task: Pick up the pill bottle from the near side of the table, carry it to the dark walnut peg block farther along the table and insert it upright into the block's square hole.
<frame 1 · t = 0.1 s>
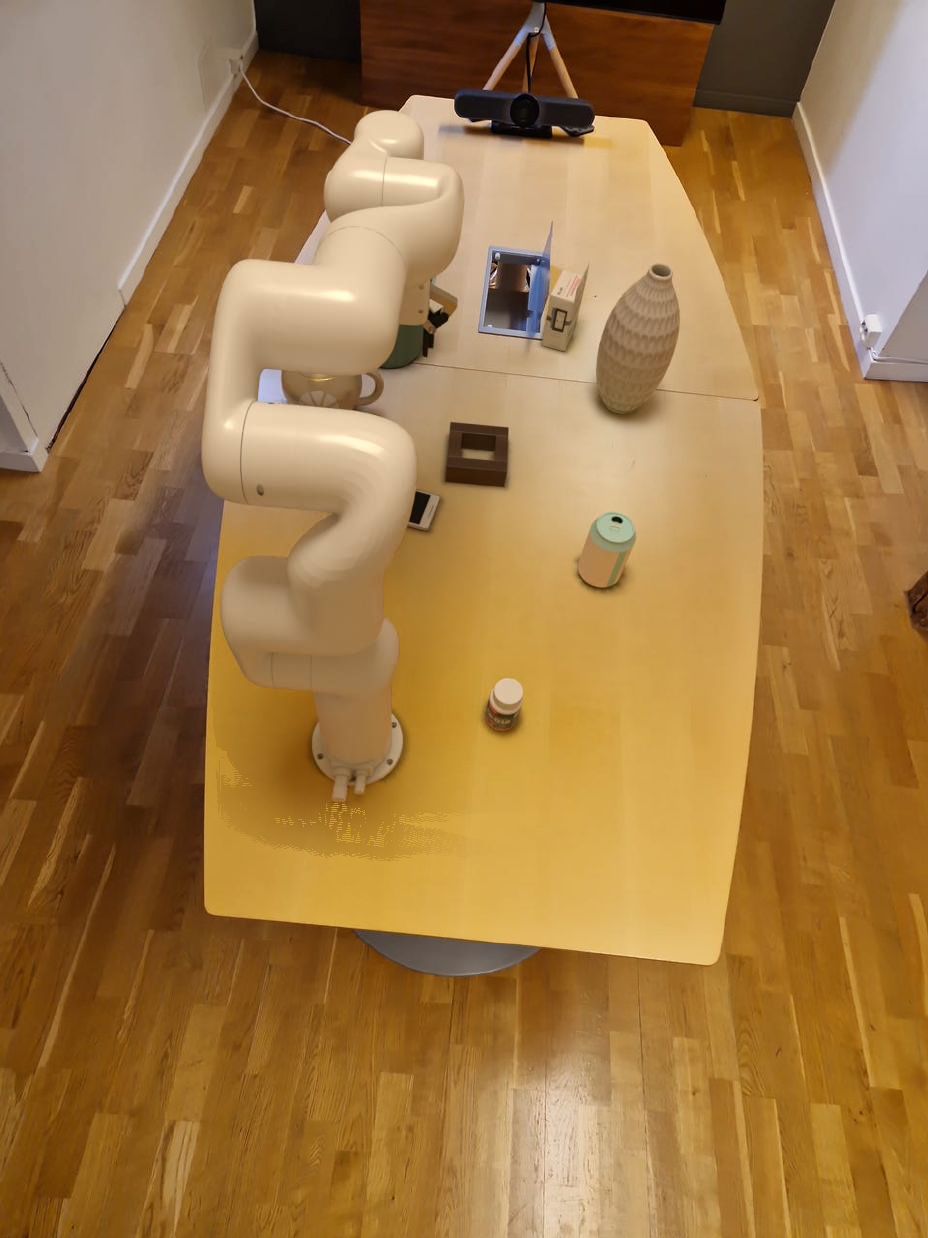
hand: (390, 346, 111), 31 cm above the table, tool pointing down, fingers open, 9 cm apart
can: (598, 572, 132), on the table
smartphone: (389, 504, 136), on the table
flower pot: (389, 347, 156), on the table
teapot: (333, 415, 146), on the table
vase: (618, 403, 153), on the table
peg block: (476, 461, 142), on the table
pill bottle: (501, 716, 118), on the table
ink box: (558, 336, 161), on the table
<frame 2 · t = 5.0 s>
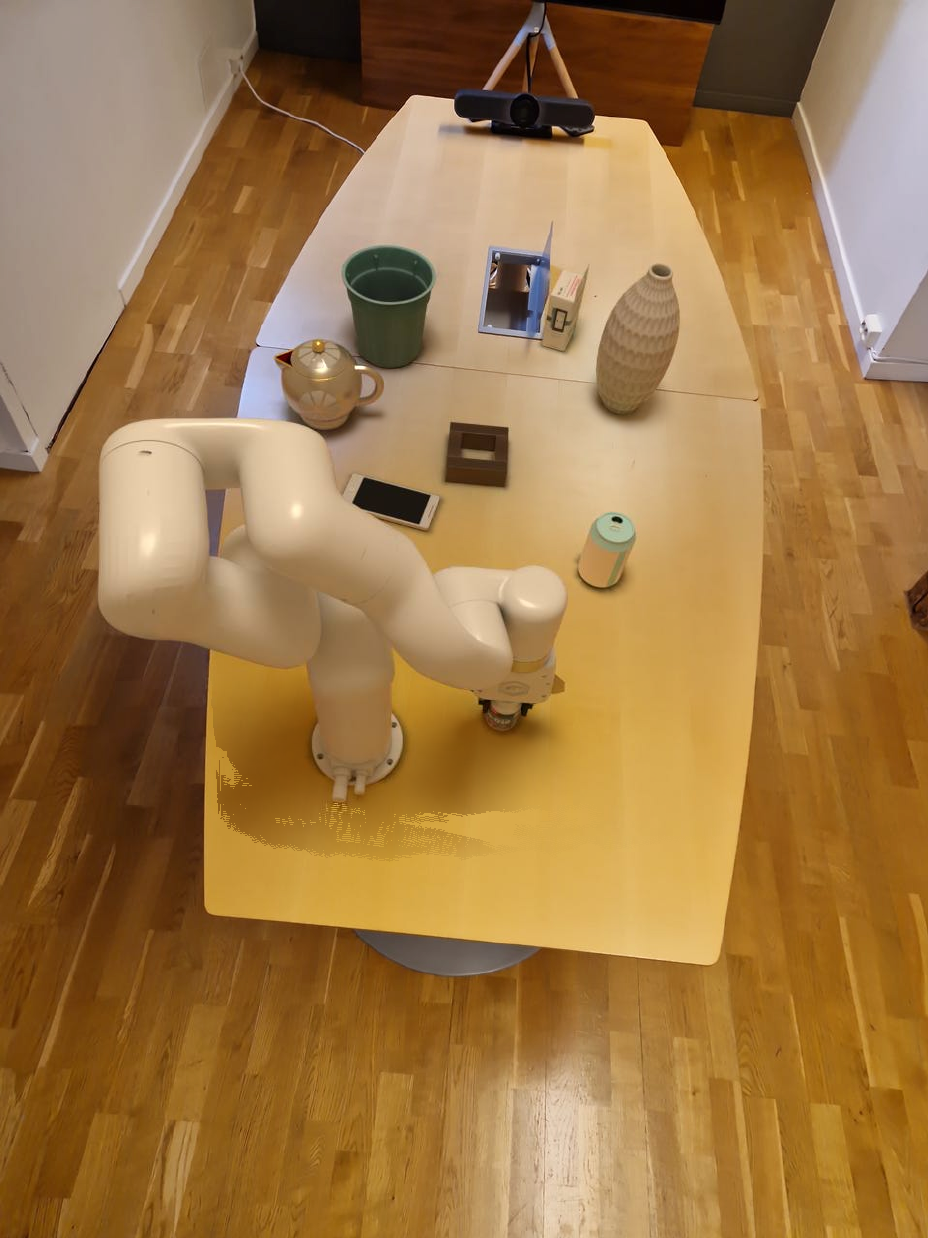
hand: (504, 705, 114), 4 cm above the table, tool pointing down, fingers closed on pill bottle, 4 cm apart
pill bottle: (501, 716, 118), on the table, touching gripper
everything else where it was.
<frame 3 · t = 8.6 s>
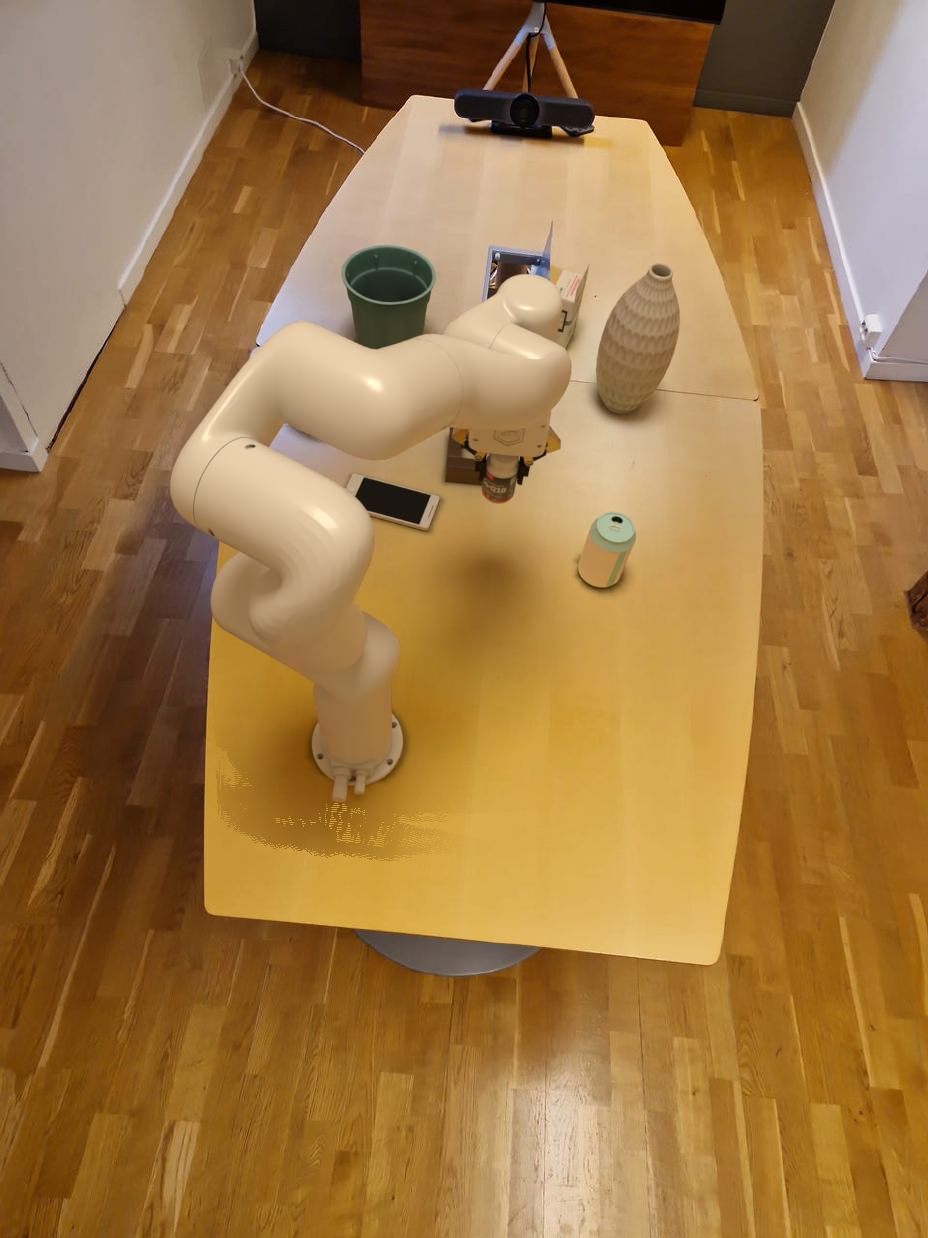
hand: (500, 474, 114), 21 cm above the table, tool pointing down, fingers closed on pill bottle, 4 cm apart
pill bottle: (497, 492, 118), point 17 cm above the table, touching gripper
everything else where it was.
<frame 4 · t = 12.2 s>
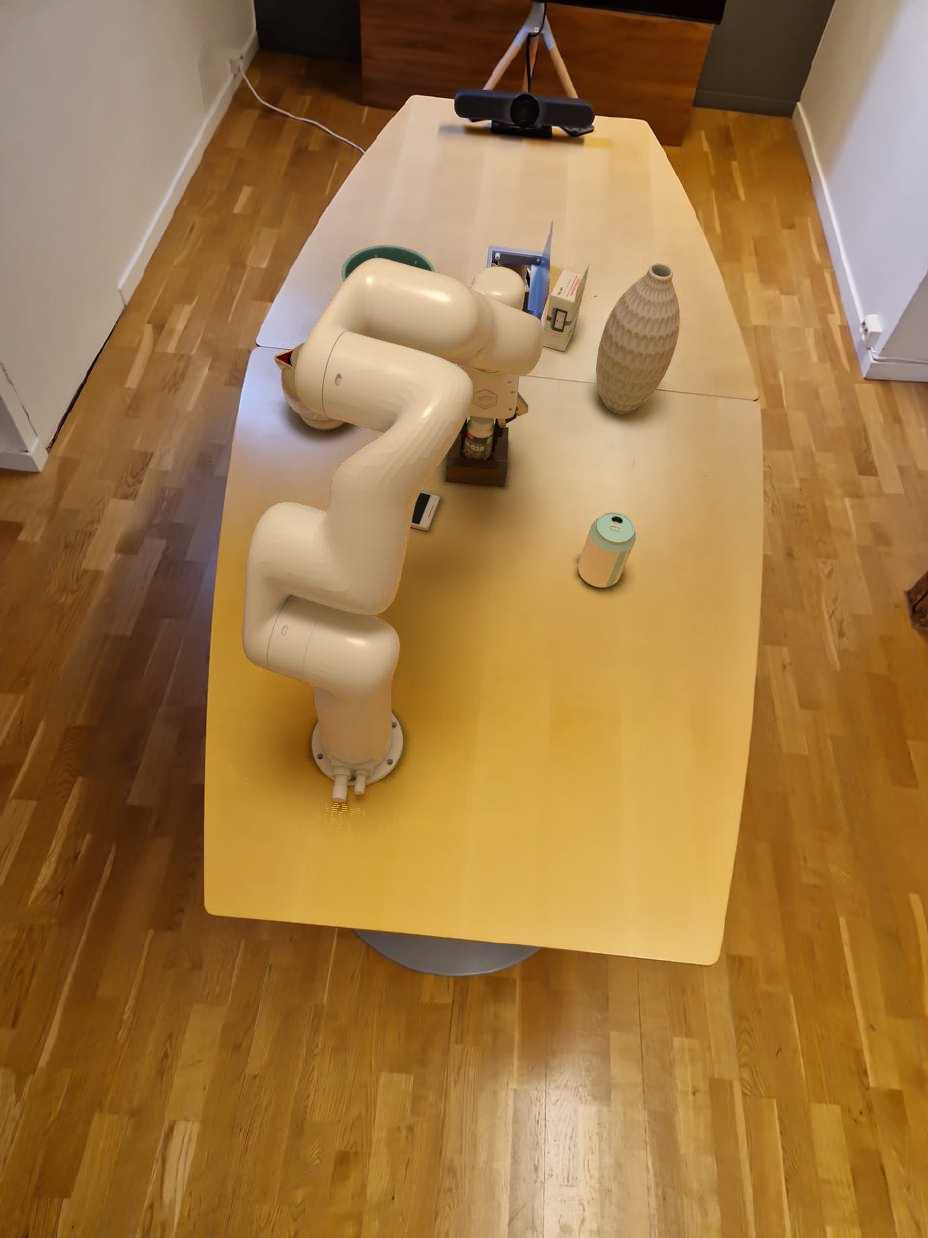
hand: (479, 435, 137), 7 cm above the table, tool pointing down, fingers closed on pill bottle, 4 cm apart
pill bottle: (477, 452, 140), point 3 cm above the table, touching gripper
everything else where it was.
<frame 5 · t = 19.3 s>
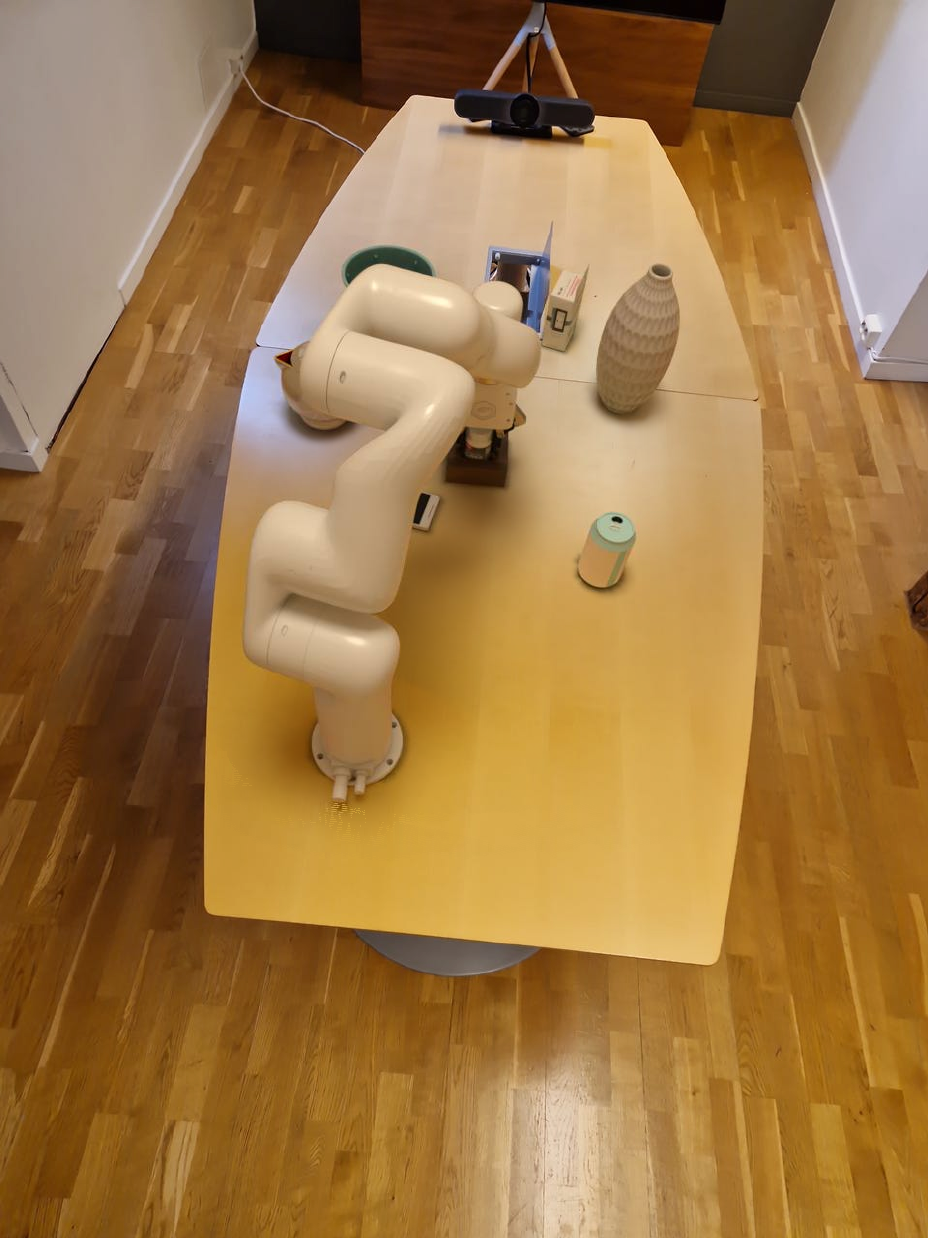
hand: (477, 446, 139), 4 cm above the table, tool pointing down, fingers closed on pill bottle, 4 cm apart
pill bottle: (475, 461, 142), resting in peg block, touching gripper
everything else where it was.
when the fingers open (6 cm above the table, at t = 21.4 s): pill bottle drops 2 cm, resting in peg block.
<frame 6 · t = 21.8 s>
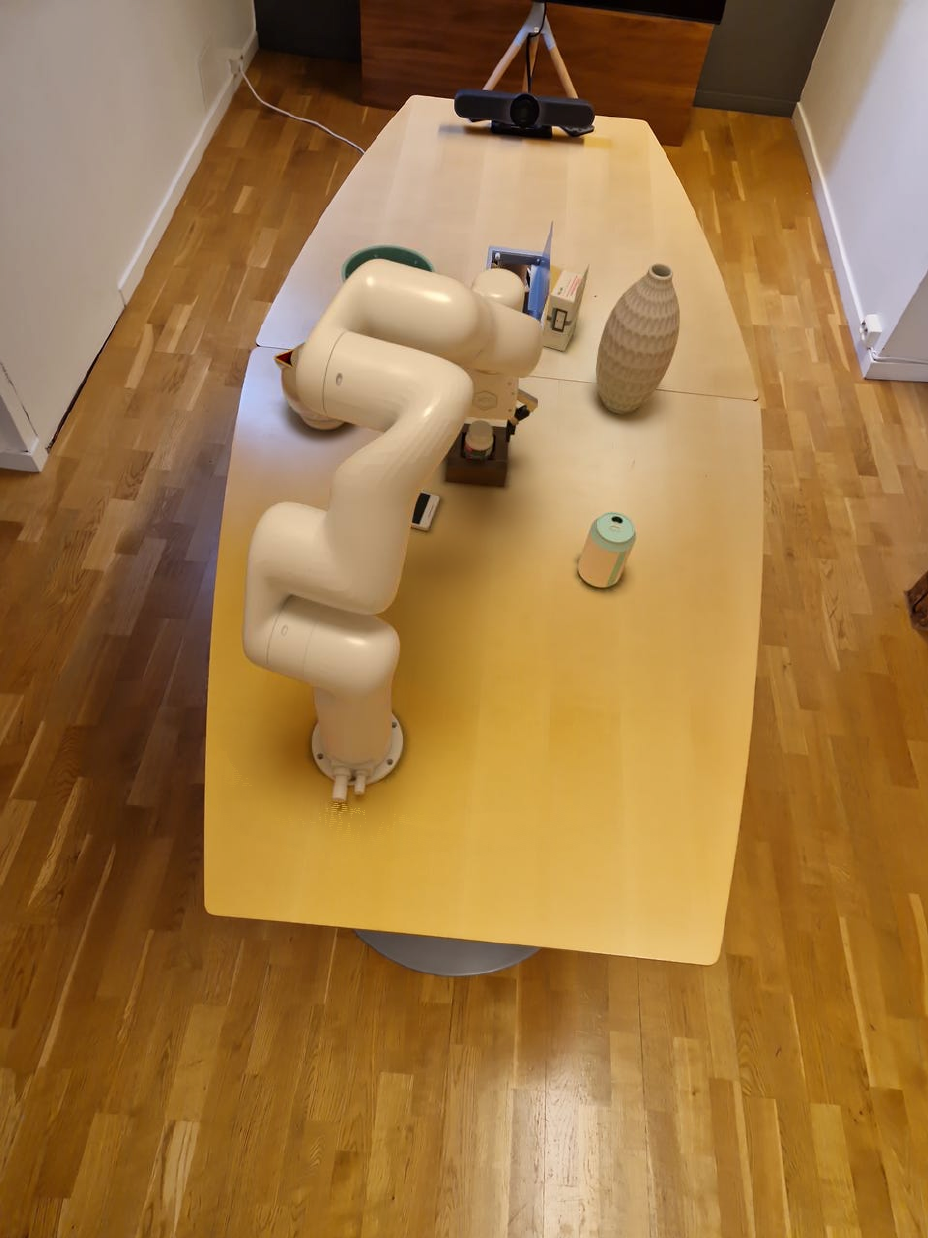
hand: (479, 433, 136), 7 cm above the table, tool pointing down, fingers open, 9 cm apart
pill bottle: (476, 463, 142), resting in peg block
everything else where it was.
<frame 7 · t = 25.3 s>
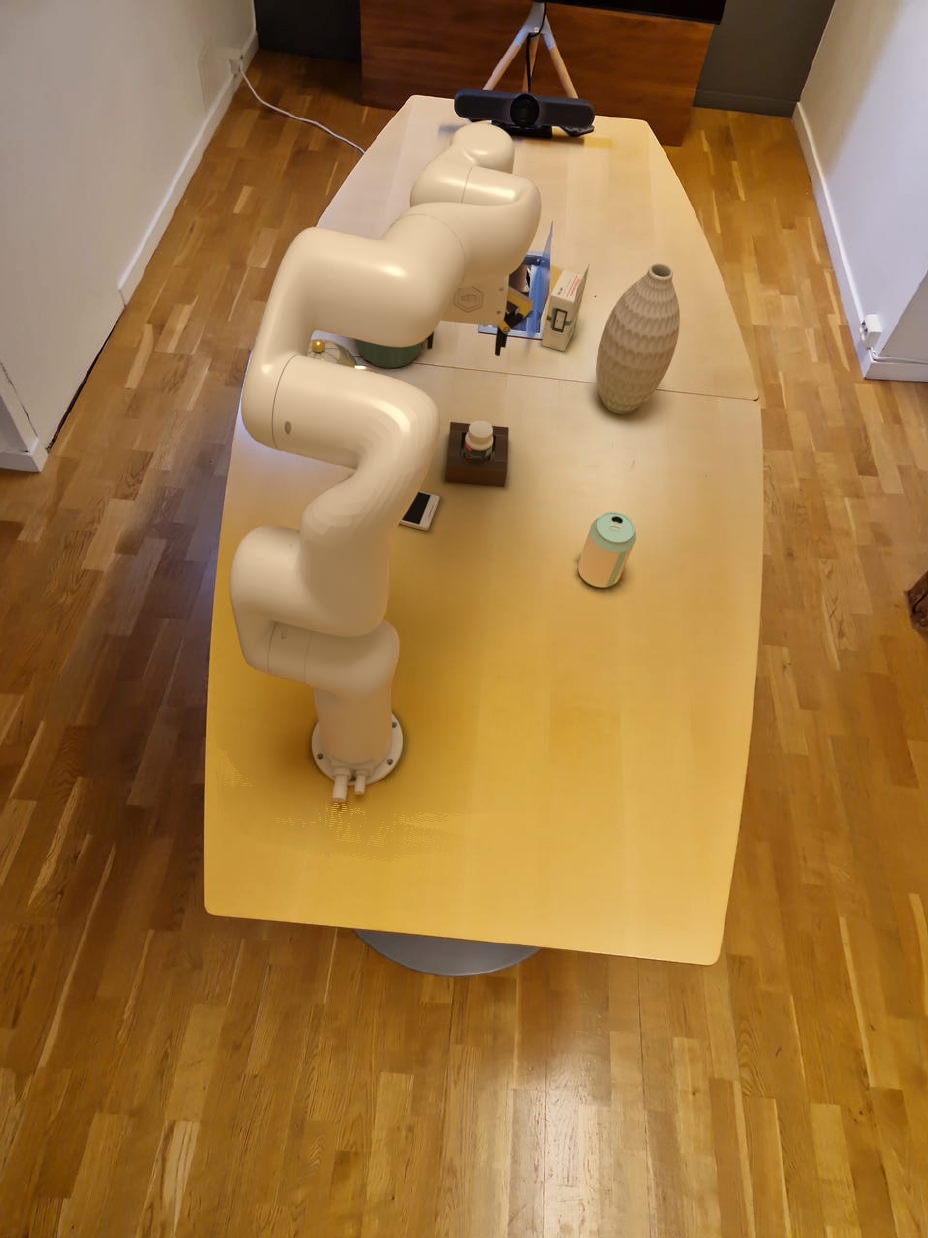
hand: (464, 345, 116), 28 cm above the table, tool pointing down, fingers open, 9 cm apart
nothing on the table moved.
at the end: pill bottle 0.2 cm off-centre in the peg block, point 0.0 cm above the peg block's base; pill bottle tilted 0°; the gripper is holding nothing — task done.
